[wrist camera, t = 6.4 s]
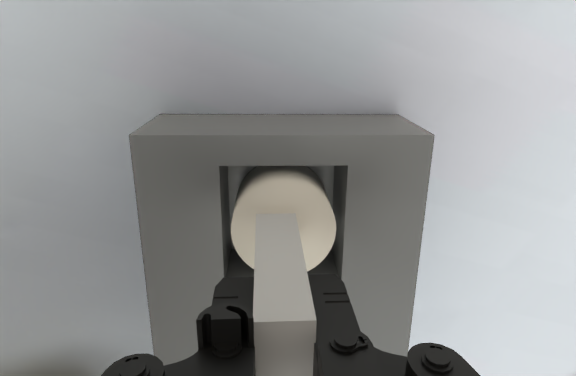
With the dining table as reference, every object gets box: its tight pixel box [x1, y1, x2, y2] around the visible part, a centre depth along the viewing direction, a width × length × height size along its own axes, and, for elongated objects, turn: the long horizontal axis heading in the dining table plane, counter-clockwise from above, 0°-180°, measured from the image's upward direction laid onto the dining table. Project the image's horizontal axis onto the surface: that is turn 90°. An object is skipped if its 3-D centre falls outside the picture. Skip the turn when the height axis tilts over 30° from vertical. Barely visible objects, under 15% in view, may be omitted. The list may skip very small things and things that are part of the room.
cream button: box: [231, 166, 336, 271], centre depth 19 cm, size 4×4×3 cm
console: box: [129, 114, 434, 366], centre depth 23 cm, size 12×23×5 cm, turn 179°
